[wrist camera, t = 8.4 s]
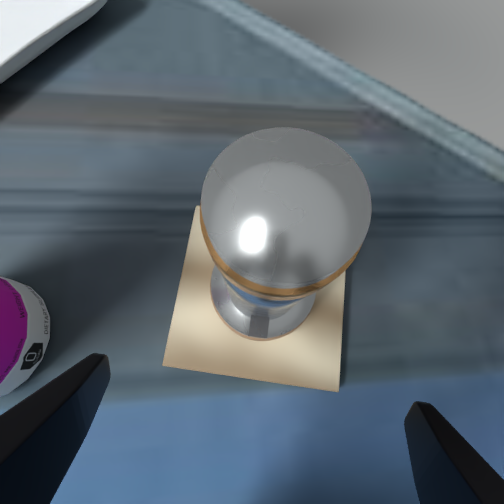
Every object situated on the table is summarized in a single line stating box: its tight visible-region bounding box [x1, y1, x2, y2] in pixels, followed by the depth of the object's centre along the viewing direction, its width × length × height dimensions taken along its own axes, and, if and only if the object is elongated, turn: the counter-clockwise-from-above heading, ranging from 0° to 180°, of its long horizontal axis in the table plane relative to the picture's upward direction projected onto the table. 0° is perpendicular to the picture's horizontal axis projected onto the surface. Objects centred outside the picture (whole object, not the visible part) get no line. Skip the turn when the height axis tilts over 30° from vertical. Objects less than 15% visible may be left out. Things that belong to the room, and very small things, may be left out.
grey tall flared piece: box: [200, 127, 372, 339], centre depth 15 cm, size 7×6×13 cm
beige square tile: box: [162, 206, 346, 392], centre depth 22 cm, size 12×12×3 cm
